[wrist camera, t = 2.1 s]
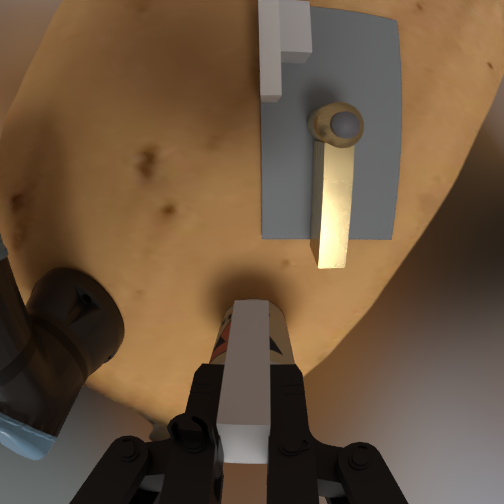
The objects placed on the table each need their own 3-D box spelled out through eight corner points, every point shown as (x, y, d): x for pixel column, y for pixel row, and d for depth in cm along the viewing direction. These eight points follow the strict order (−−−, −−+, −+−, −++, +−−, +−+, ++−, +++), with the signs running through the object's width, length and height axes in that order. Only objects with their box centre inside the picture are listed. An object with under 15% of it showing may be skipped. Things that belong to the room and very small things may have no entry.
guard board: (262, 235, 31) (262, 273, 24) (258, 8, 22) (257, -30, 14) (388, 236, 31) (421, 271, 23) (393, 23, 21) (430, -1, 14)
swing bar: (307, 104, 24) (318, 99, 19) (345, 107, 24) (364, 104, 19) (304, 245, 30) (312, 270, 25) (338, 245, 30) (352, 270, 25)
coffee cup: (277, 281, 34) (282, 355, 23) (301, 340, 37) (312, 415, 26) (203, 305, 35) (181, 380, 24) (235, 359, 39) (226, 432, 28)
